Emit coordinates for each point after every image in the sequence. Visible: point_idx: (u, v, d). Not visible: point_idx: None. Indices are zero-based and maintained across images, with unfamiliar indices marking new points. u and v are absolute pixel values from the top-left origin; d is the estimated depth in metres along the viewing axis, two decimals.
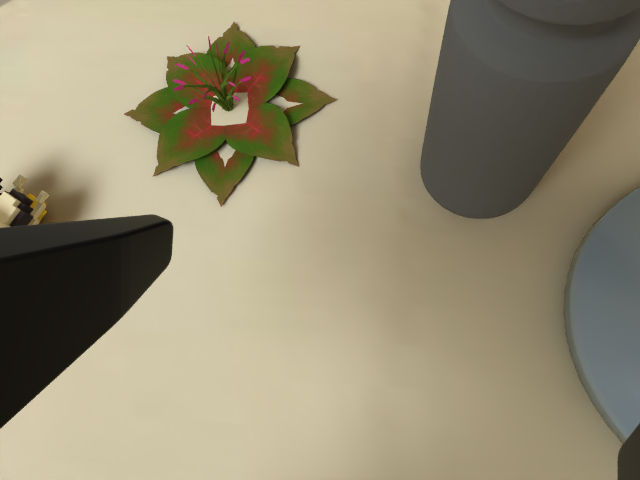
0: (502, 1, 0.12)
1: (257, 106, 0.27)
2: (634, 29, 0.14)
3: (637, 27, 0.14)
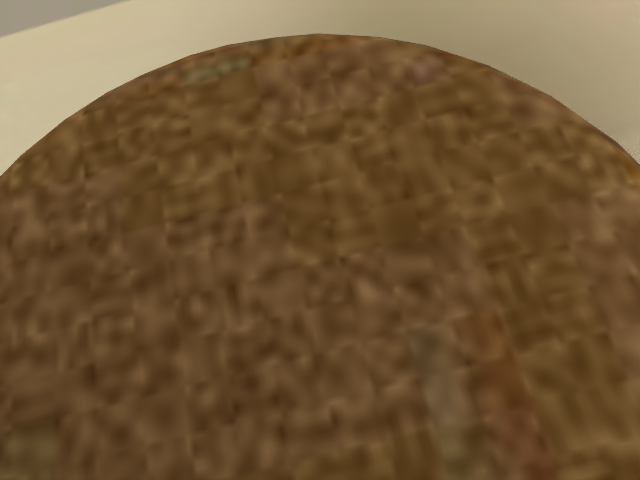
0: None
1: None
2: None
3: None
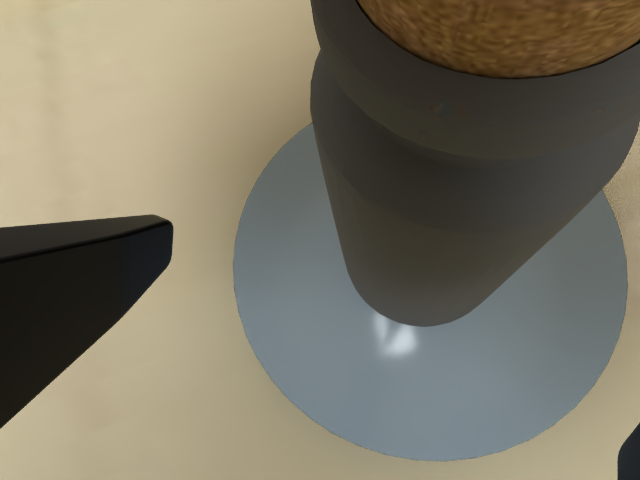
0: (357, 104, 0.06)
1: None
2: (621, 135, 0.07)
3: (627, 127, 0.08)
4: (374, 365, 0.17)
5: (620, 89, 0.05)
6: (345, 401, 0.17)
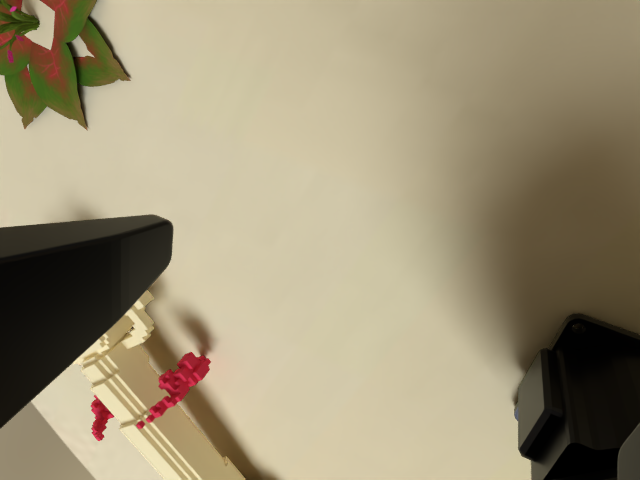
0: None
1: None
2: None
3: None
4: None
5: None
6: None
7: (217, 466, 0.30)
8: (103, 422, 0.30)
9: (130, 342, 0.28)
